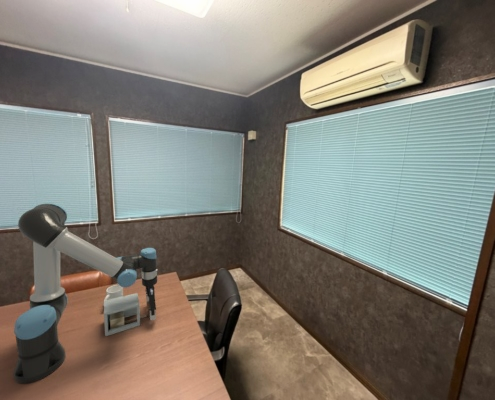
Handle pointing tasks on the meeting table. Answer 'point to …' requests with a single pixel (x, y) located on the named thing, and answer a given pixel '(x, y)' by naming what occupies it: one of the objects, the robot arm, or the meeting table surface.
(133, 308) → the box
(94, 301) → the meeting table surface
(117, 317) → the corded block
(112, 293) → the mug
